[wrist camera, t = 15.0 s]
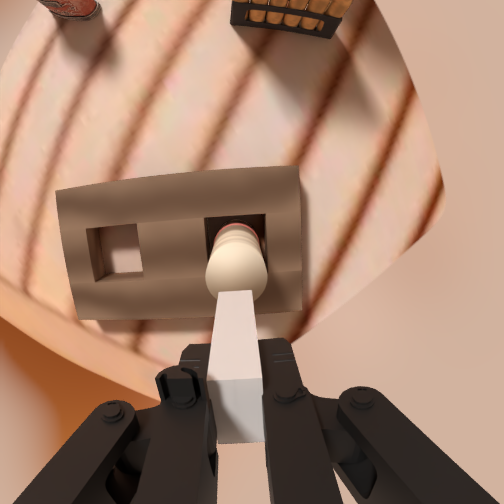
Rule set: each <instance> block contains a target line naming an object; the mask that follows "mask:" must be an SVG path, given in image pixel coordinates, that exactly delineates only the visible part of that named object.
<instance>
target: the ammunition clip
mask: <svg viewBox="0 0 504 504" xmlns="http://www.w3.org/2000/svg"><path fill="white" fill-rule="evenodd" d="M288 1H289V3H288ZM330 1H331V2H330ZM352 1H353V0H270V1H269V0H232V7H231V19H230V24H231V25H239V26H250V27H260V28H268V29H276V30H283V31H289V32H296V33H301V34H307V35H312V36H317V37H322V38H327V39H331V37H332V36H333V34H334V32H335V31H336V29H337V27H338V26H339V24H340V23H341V21H342V16H343V15H344V13H345V12H346V11H347V9H348V8H349V7H350V5H351V4H352ZM249 2H250V3H249ZM268 2H269V5H268ZM287 3H288V6H287ZM307 4H308V6H307ZM286 6H287V8H286ZM306 6H307V8H306ZM305 8H306V10H305Z"/></svg>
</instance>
